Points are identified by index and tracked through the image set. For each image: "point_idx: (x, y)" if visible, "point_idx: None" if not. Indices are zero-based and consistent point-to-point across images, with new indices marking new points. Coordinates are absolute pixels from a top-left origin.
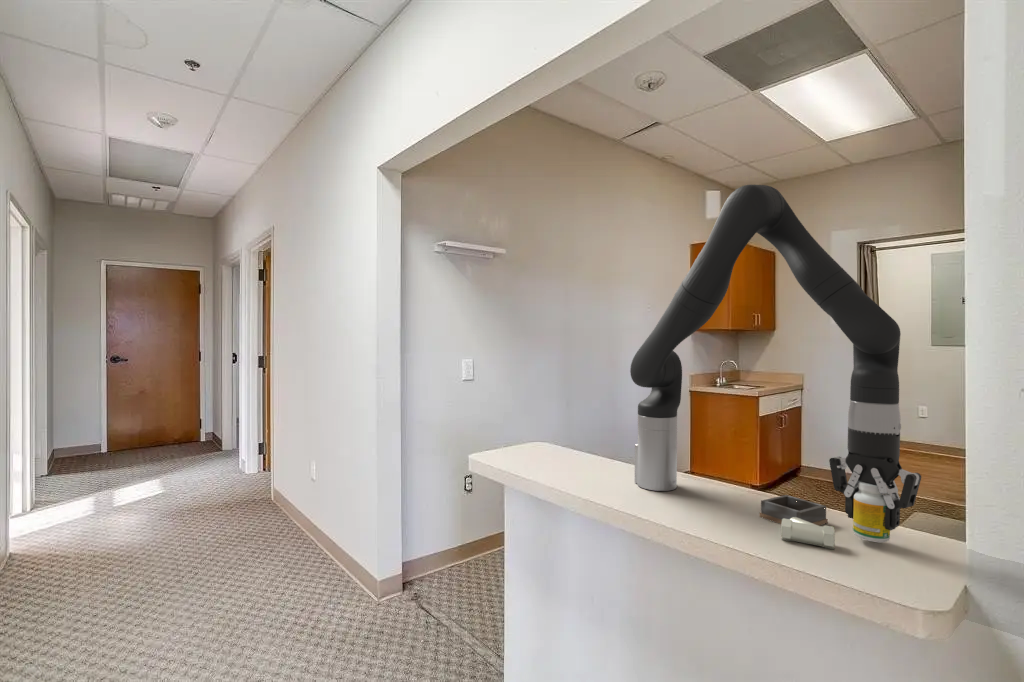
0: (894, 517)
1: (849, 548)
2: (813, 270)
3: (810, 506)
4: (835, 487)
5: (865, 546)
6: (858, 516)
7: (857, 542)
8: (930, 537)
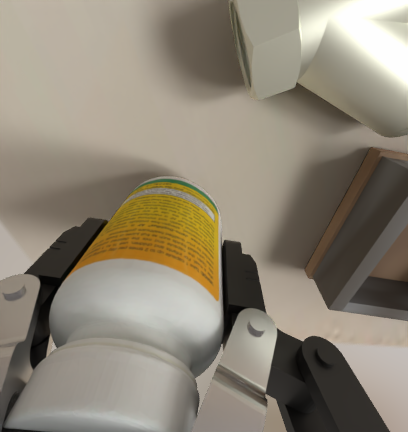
0: (47, 252)
1: (200, 106)
2: None
3: (371, 296)
4: (335, 354)
5: (175, 169)
6: (186, 218)
7: (202, 185)
8: None
